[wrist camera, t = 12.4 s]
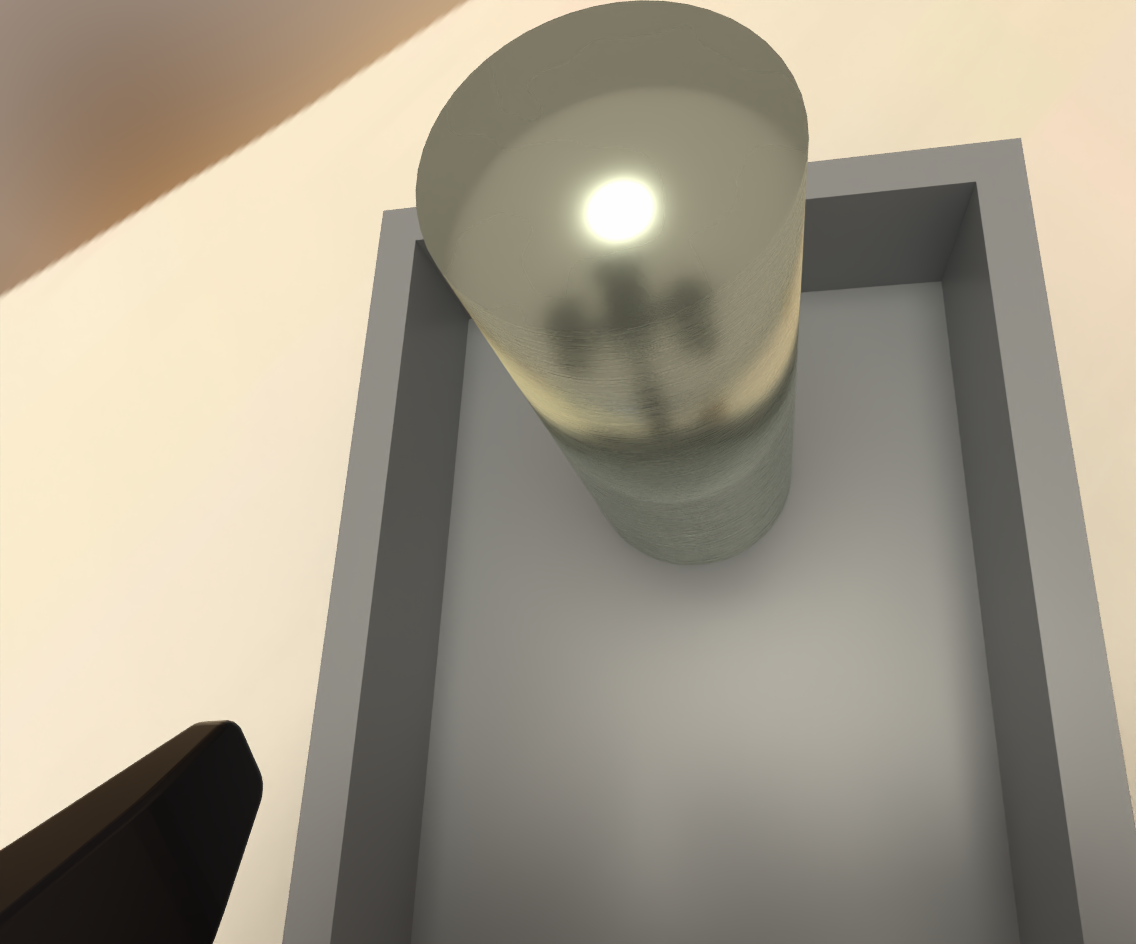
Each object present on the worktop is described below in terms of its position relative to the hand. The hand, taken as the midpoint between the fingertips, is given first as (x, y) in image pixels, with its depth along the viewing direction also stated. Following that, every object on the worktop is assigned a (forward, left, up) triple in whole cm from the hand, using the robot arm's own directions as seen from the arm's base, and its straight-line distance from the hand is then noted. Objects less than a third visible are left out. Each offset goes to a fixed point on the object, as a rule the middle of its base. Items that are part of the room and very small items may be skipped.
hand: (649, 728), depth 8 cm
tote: (+2, +1, -13) cm, 13 cm away
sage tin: (+6, +3, -12) cm, 14 cm away
